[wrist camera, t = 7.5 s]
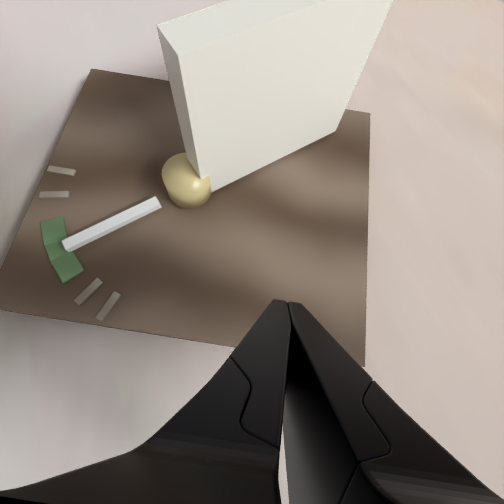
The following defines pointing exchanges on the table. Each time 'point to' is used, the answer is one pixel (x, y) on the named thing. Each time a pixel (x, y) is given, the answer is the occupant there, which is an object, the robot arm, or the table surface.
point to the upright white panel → (253, 89)
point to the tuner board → (191, 228)
